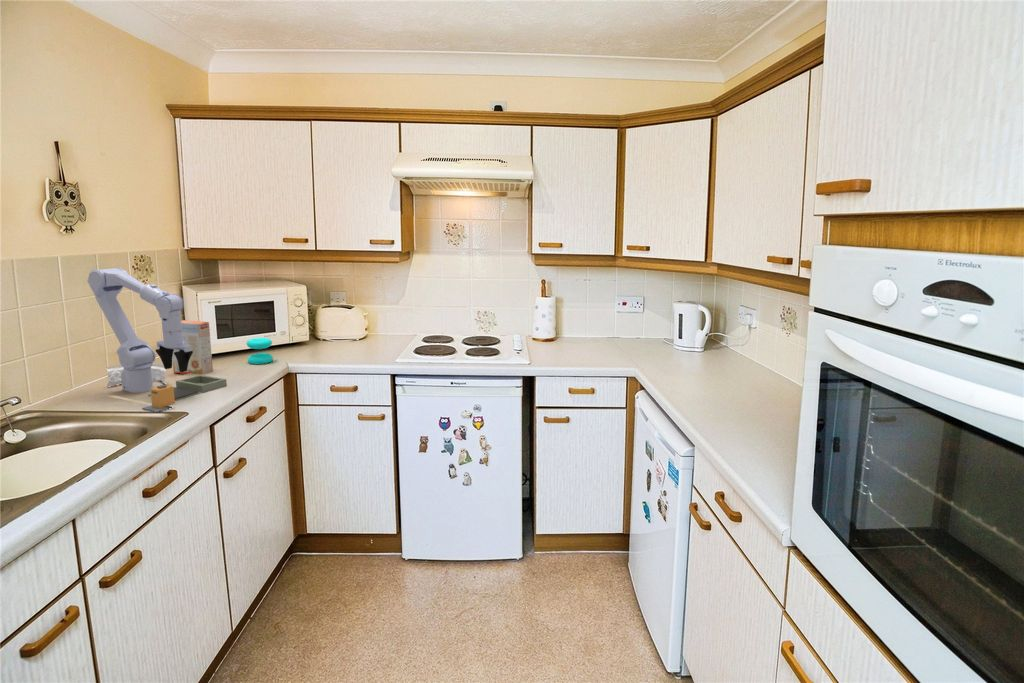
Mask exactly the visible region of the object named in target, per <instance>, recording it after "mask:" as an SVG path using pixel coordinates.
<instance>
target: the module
mask: <svg viewBox="0 0 1024 683" xmlns="http://www.w3.org/2000/svg"><path fill="white" fill-rule="evenodd" d="M149 392H150V394H151V396H150V399H151V405H152V407H156V408H160V409H161V408H164V407H168V406H169V405H173V404H175V403H176V401H175V398H174V386H172V385H167V384H162V385H161V384H160V385H157V386H156V387H153V388H151V389H150V391H149Z"/></svg>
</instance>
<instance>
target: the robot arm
mask: <svg viewBox="0 0 1024 683" xmlns="http://www.w3.org/2000/svg"><path fill="white" fill-rule="evenodd" d="M87 284H88V285H89V287H90V289H91V291H92V292H93V294H94V297H95V299H96V302H97V303H98V306H99V307H100V309H101V311H102V313H103V314H104V316H105V318H106V321H107V322H108V323H109V325H110V327H111V329H112V331H113V333H114V335H115V337H116V338H117V340H118V342H119V343H120V345H119V347H118V348H117V349H116V353H117V355H118V360H119V363H120V366H122V367H124V369H123V370H122V372H121V381H122V385H121V387H122V388H121V389H122V391H126V392H129V393H133V394H134V393H140V394H141V393H145V392H150V389H151V388H154V382H152V372H151V366H153V364H154V362H155V361H156V355H158V357H159V358H160V360H161V363H162V365H164V368H165V369H167V370H169V369H173V359H172V356H173V351H174V349H175V350H179V351H178V352H174V355H175V356H176V358H177V361H178V366H179V370H180V372H184V371H187V368H188V363H189V359H190V357H191V355H192V353H193V351H191V345H187V344H186V342H183V335H182V324H181V320H182V313H181V311H182V310H183V309H184V307H185V302H184V299H183V298H182V297H181V295H179V294H178V293H173V294H170V293H169V292H168V290H167V291H165V290H163V289H162V288H159V287H158V285H156V284H145V283H143V282H141V281H139V280H138V279H137V278H135V277H133V276H131V275H130V274H129V272H128V271H127V270H126V269H125V270H124V269H123V268H120V267H114V268H104V269H102V268H101V269H97V268H96V269H92V270H91V271H90V272H89V274H88V277H87ZM124 288H125V289H128V290H131V292H132V291H133V292H135V293H137V294H139V297H140V299H142V300H143V301H145V302H147V303H148V304H150V305H152V306H154V307H155V308H156V310H157V312H158V314H159V317H160V320H161V329H162V340H160V341H159V340H158V341H156V347H157V348H156V349H155V350H154V349H153V348H152V347H151V346H150V345H149V344H148V342H147V341H145V340H143V339H141V338H139V337H138V336H137V334H136V331H135V330H134V328H133V326H132V324H131V322H130V320H129V319H128V317H127V316H126V313H125V311H124V310H123V308H122V306H121V305H120V302H119V300H118V299H117V298H118V297H117V296H119V294H120V293H121V291H122V289H124Z"/></svg>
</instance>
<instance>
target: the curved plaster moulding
mask: <svg viewBox="0 0 1024 683" xmlns="http://www.w3.org/2000/svg"><path fill="white" fill-rule="evenodd" d="M152 364H153V366H151V372H152V382H153V383H157V382H162V384H163V385H168V383H167V382H166V377H165V372H167V371H168V369H165V368H164V365H163V364H157V363H152ZM123 369H124V367H122V365H116V366H109V367H108V366H107V367H106V372H107V378H108V380H107V382H108V383H107V384H106V385H107V386H106V387H107V388H110V387H109V386H113V387H115V386H114V385H117V384H122V381H121V372H122V370H123ZM117 386H118V385H117ZM168 386H169V385H168Z"/></svg>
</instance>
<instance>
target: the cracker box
mask: <svg viewBox="0 0 1024 683" xmlns="http://www.w3.org/2000/svg"><path fill="white" fill-rule="evenodd" d="M181 324H182V335H183V342H186V344H187V345H191V351H193V353H192V355H191V357H190V359H189V363H188V368H187V371H184V372H180V370H179V366H178V361H177V358H176V356H175V355H174V352H178V351H179V350H175V349H174V351H173V356H172V369H173V370H172V371H173V374H176V373H180V374H179V375H189V374H195V375H206V374H208V373H212V372H214V370H213V369H214V368H213V356H212V343H211V329H210V322H209V321H199V320H198V321H197V320H184V319H181Z"/></svg>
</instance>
